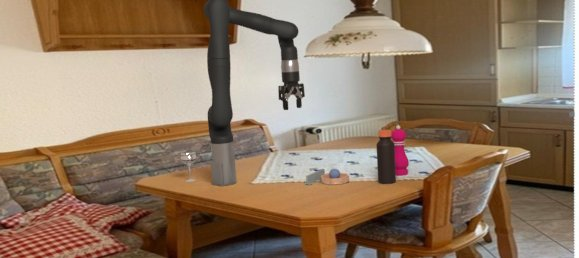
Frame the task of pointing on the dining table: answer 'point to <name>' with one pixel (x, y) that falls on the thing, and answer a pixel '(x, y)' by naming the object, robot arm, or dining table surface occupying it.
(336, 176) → the ball
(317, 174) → the fence
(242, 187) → the dining table surface
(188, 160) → the wineglass
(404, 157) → the pepper mill
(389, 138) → the bottle
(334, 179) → the bowl
